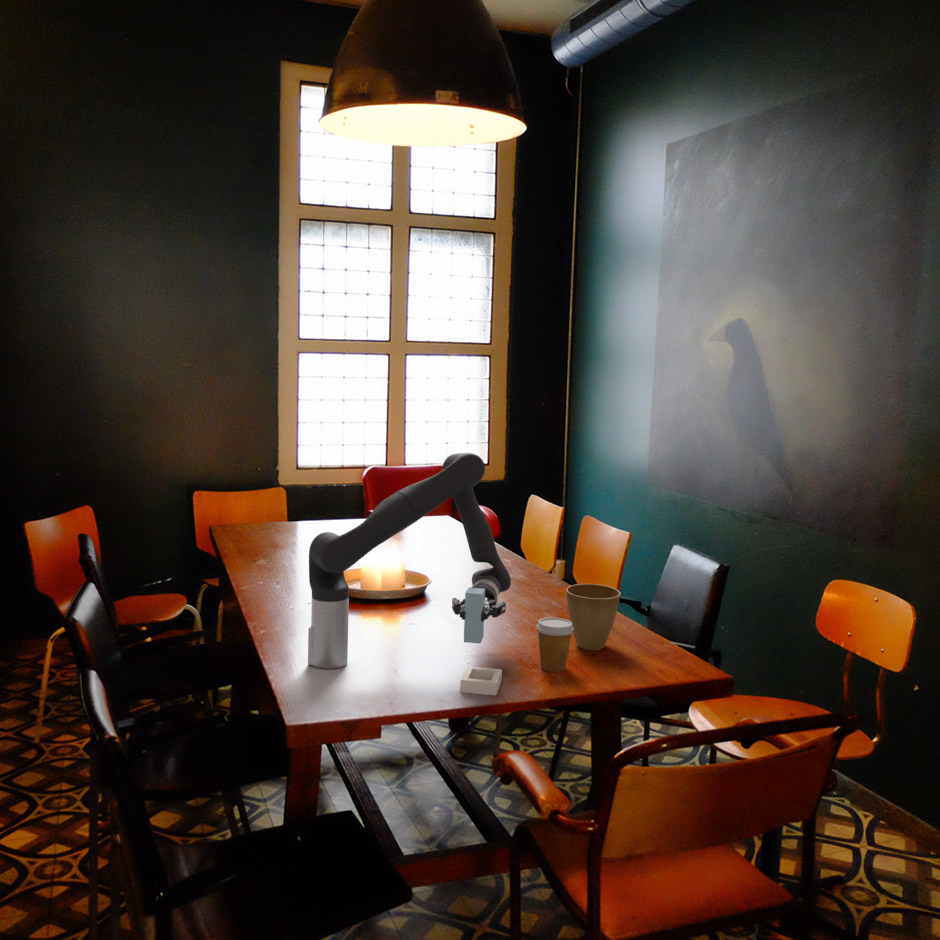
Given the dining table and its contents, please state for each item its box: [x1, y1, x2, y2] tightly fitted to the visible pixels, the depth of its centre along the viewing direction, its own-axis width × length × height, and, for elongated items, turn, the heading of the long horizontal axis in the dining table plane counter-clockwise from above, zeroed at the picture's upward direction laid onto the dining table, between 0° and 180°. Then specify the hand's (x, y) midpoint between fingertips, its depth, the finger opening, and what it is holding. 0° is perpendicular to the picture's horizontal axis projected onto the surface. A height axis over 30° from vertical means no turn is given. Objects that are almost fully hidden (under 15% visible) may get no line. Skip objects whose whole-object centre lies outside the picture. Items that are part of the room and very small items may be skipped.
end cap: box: [459, 665, 503, 696], centre depth 209 cm, size 9×10×3 cm
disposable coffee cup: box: [536, 617, 574, 673], centre depth 224 cm, size 10×10×12 cm
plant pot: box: [565, 583, 621, 651], centre depth 242 cm, size 15×15×16 cm
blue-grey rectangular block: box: [463, 587, 485, 645], centre depth 208 cm, size 4×5×12 cm
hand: (473, 616), depth 205 cm, fingers closed on blue-grey rectangular block, 4 cm apart
